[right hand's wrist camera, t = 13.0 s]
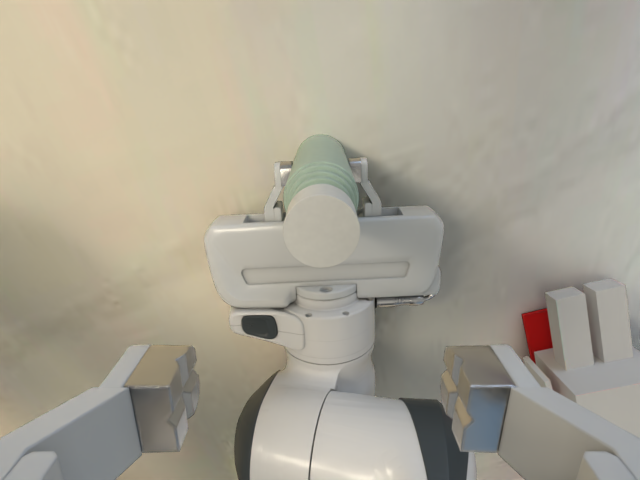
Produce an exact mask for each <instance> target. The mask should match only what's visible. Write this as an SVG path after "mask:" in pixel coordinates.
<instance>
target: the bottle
mask: <svg viewBox="0 0 640 480" xmlns="http://www.w3.org/2000/svg"><path fill="white" fill-rule="evenodd" d="M315 184H328V185H332V186H335V187H337V188H339V189H341V190H342V191H343V192H345V193H346V194H347V195H348V196H349V198H350V199H351V200H352V202H353V204H354V207H355V210H356V211H357V208H358V204H359V192H358V188H357V185H356V182H355V179H354V176H353V174H352V171H351V168H350V165H349V163H348V160H347V157H346V155H345V152H344V149H343V147H342V146H341V144H340V143H339V142H338V141H337V140H336V139H334V138H333V137H331V136H328V135H314V136H311V137H309V138H307V139H306V140H305V141H304V142H303V143H302V144H301V145H300V147H299V149H298V151H297V154H296V157H295V160H294V162H293V165H292V168H291V171H290V174H289V177H288V180H287V183H286V186H285V189H284V196H283V200H284V207H285V210H286V213H287V209H288V206H289V204H290V202H291V200H292V199H293V197H294V196H295V195H296V194H297V193H298V192H299V191H301V190H302V189H304V188H306V187H308V186H311V185H315Z"/></svg>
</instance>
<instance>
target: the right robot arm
mask: <svg viewBox="0 0 640 480" xmlns="http://www.w3.org/2000/svg"><path fill="white" fill-rule="evenodd" d="M196 361H197V359H196V353H195V348H194V347H193V346H190V345H131V346H129V347H128V348H127V350H126V351H125V352H124V354H123V355H122V356H121V358H120V359H119V360H118V362H117V363H116V364H115V366H114V367H113V368H112V370H111V371H110V373H109V374H108V375H107V377H106V378H105V379H104V381H103V382H102V383H101V385H100V386H99V387H92V388H90V389H88V390H86V391H85V392H83V393H81V394H79V395H77V396H76V397H74V398H72V399H70V400H68V401H67V402H65V403H63V404H61V405H59V406H57V407H56V408H54V409H52V410H50V411H48V412H47V413H45V414H43V415H41V416H39V417H37V418H36V419H34V420H32V421H30V422H28V423H27V424H25V425H23V426H21V427H19V428H18V429H16V430H14V431H12V432H10V433H8V434H7V435H5V436H3V437H1V438H0V480H115V479H116V478H117V477H119V476H120V475H121V474H122V473H123V472H124V471H125V470H126V469H127V468H128V467H129V466H130V465H132V464H133V463H134V462H135V461H136V460H137V459H138V458H139V457H140V456H141V455H142V453H149V452H180V449H181V447H182V444H183V441H184V439H185V436H186V434H187V431H188V421H187V419H189V418H190V417H191V416H192V415H194V413H195V410H196V407H197V404H198V398H199V375H198V374H197V373H196V372H195V371H194V370H193V367H194V365H195V363H196ZM443 361H444V363H445V365H446V367H447V370H446V371H445V372H444V373H443V374H442V375H441V385H440V388H441V399H442V404H443V407H444V410H445V413H446V415H448V416H449V417H450V418H451V419H453V421H452V431H453V434H454V436H455V439H456V441H457V444H458V446H459V449H460V452H491V453H498V455H499V456H500V457H501V458H502V459H503V460H504V461H505V462H507V463H508V464H509V465H510V466H511V467H512V468H513V469H514V470H515V471H516V472H517V473H518V474H519V475H521V476H522V477H523V478H524V479H525V480H640V438H639V437H637V436H635V435H633V434H631V433H629V432H628V431H626V430H624V429H622V428H620V427H619V426H617V425H615V424H613V423H611V422H610V421H608V420H606V419H604V418H602V417H601V416H599V415H597V414H595V413H593V412H592V411H590V410H588V409H586V408H584V407H582V406H581V405H579V404H577V403H575V402H573V401H572V400H570V399H568V398H566V397H564V396H563V395H561V394H559V393H557V392H555V391H554V390H552V389H550V388H548V387H541V386H540V385H539V383H538V382H537V381H536V379H535V378H534V377H533V375H532V374H531V373H530V371H529V370H528V369H527V367H526V366H525V365H524V363H523V362H522V361H521V359H520V358H519V357H518V355H517V354H516V352H515V351H514V350H513V348H512V347H511V346H509V345H507V344H503V345H484V346H446V349H445V351H444V359H443Z"/></svg>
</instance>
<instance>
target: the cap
mask: <svg viewBox="0 0 640 480" xmlns="http://www.w3.org/2000/svg"><path fill="white" fill-rule="evenodd" d="M283 238H284V242H285V245H286V247H287V249H288V250H289V252H290V253H291V254H292V255H293V257H295V258H296V259H297V260H298V261H300V262H301V263H303V264H305V265H308V266H311V267H316V268H327V267H332V266H335V265H338V264H340V263H342V262H343V261H345V260H346V259H347V258H348V257H350V255H351V254H352V253H353V252H354V250H355V249H356V247H357V245H358V242H359V238H360V225H359V221H358V217H357V213H356V210H355V207H354V204H353V202H352V200H351V199H350V198H349V196H348V195H347V194H346V193H345V192H343V191H342V190H341V189H339V188H337V187H335V186H332V185H328V184H315V185H311V186H308V187H306V188H304V189H302V190H301V191H299V192H298V193H297V194H296V195H295V196H294V197H293V199H292V200H291V202H290V204H289V206H288V209H287V213H286V217H285V221H284V225H283Z"/></svg>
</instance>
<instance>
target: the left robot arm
mask: <svg viewBox="0 0 640 480" xmlns="http://www.w3.org/2000/svg"><path fill="white" fill-rule="evenodd" d="M348 163H349V165H350V168H351V171H352V174H353V176H354V179H355V182H356V183H359V182H360V184H361V186H362V187H363V189H364V190H365V192H366V194H367V195H368V197H363V198H362V203H363V208H361V209H357V211H356V213H357V217H358V221H359V225H360V238H359V242H358V245H357V247H356V249H355V250H354V252H353V253H352V254H351V255H350V257H348V258H347V259H346V260H345V261H343V262H342V263H340V264H338V265H335V266H332V267H327V268H316V267H311V266H308V265H305V264H303V263H301V262H300V261H298V260H297V259H296V258H295V257H293V255H292V254H291V253H290V252H289V250H288V249H287V247H286V245H285V242H284V238H283V225H284V221H285V217H286V212H284V210H283V202H282V201H277V199H278V197H279V195H280V192H281V190H282V188H283V186H286V183H287V180H288V177H289V174H290V171H291V168H292V165H293V161H285V162H275V163H274V177H275V185H274V188H273V190H272V192H271V194H270V196H269V198H268V200H267V202H266V205H265V207H264V213H259V214H239V215H221V216H218V217H217V218H216V219H215V220H214V221H213V222H212V223H211V224H210V226H209V227H208V229H207V230H206V232H205V235H204V244H205V251H206V256H207V260H208V264H209V268H210V272H211V275H212V278H213V282H214V285H215V288H216V290H217V292H218V294H219V296H220V297H221V298H222V299H223V301H225V302H226V303H227V304H229V305H231V309H230V314H229V326H230V329H231V330H232V331H233V332H234V333H236V334H239V335H243V336H248V337H252V338H257V339H261V340H265V341H268V342H272V343H275V344H279V345H282V346H284V347H285V350H286V353H287V364H286V367H285V369H284V370H282V371H281V370H279V371H277V372H276V373H274V374H273V375H272V376H271V377H270V378H269V379H268V380H267V381H266V382H265V383H264V384H263V385H262V386H261V387H260V388H259V389H258V390H257V391H256V392H255V393H254V394H253V395H252V396H251V397H250V399H249V400H248V402H247V403H246V405H245V407H244V409H243V411H242V413H241V415H240V417H239V420H238V423H237V427H236V433H235V445H234V456H235V466H236V471H237V475H238V479H239V480H477V470H476V459H475V453H474V452H460V449H459V446H458V444H457V441H456V439H455V436H454V434H453V431H452V421H453V419H451V418H450V417H449V416H448V415H446V413H445V410H444V407H443V405H442V404H441V403H440V402H439V401H438V400H431V399H411V398H399V399H391V398H384V397H377V396H375V369H374V366H373V363H372V360H371V354H372V351H373V348H374V344H375V309H376V308H377V307H394V306H398V305H399V306H400V305H409V306H418V305H422V304H424V301H426V300H429V299H431V298H433V297H434V296H435V295H436V294H437V293H438V292H439V290H440V282H441V269H440V267H439V265H438V264H439V259H440V255H441V249H442V243H443V235H444V224H443V221H442V220H441V218H440V217H439V216H438V214H437V213H436V212H435V211H433V210H432V209H431V208H430V207H429V206H426V205H422V206H401V207H382V202H381V200H380V198H379V196H378V195H377V193H376V191H375V190H374V188H373V186H372V185H371V183H370V182H369V180H368V163H367V159H366V157H362V158H348ZM276 201H277V202H276ZM423 295H427V296H423Z"/></svg>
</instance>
